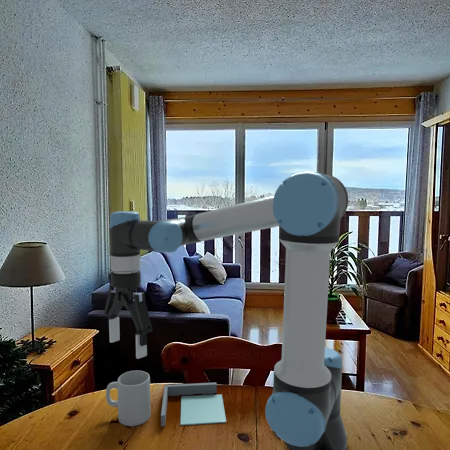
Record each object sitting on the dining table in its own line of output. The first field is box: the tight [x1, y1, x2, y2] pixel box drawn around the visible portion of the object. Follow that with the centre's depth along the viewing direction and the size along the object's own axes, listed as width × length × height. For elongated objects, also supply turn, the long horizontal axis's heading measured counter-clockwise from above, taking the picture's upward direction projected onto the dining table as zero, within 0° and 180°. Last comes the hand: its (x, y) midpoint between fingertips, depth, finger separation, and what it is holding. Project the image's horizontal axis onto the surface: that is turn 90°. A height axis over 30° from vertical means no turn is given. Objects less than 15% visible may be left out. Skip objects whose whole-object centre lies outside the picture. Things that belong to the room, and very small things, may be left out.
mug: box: [105, 369, 152, 427], centre depth 100 cm, size 12×8×11 cm
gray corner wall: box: [160, 382, 218, 427], centre depth 104 cm, size 16×15×3 cm
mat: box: [180, 393, 227, 426], centre depth 103 cm, size 12×13×1 cm
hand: (127, 348), depth 99 cm, fingers open, 13 cm apart
